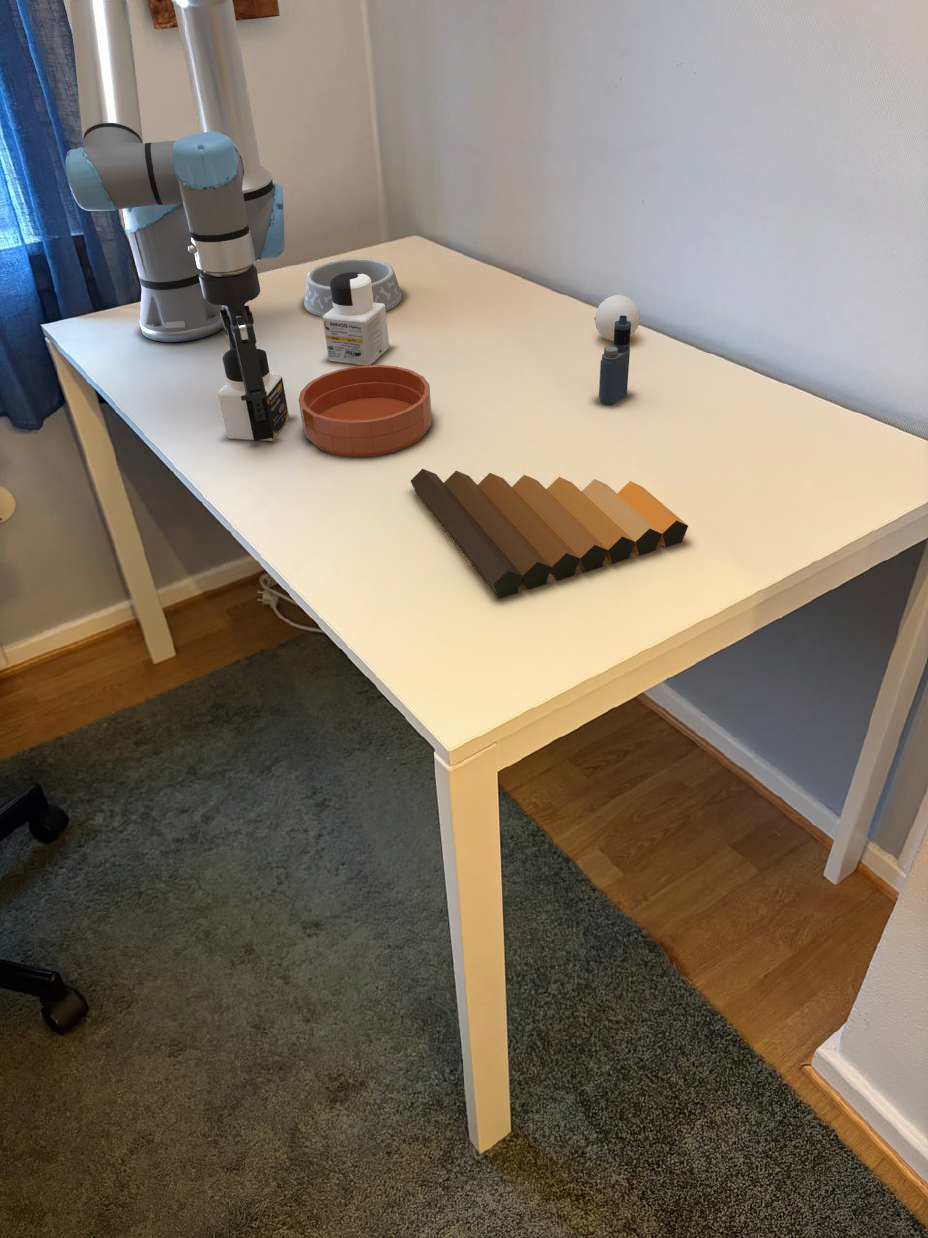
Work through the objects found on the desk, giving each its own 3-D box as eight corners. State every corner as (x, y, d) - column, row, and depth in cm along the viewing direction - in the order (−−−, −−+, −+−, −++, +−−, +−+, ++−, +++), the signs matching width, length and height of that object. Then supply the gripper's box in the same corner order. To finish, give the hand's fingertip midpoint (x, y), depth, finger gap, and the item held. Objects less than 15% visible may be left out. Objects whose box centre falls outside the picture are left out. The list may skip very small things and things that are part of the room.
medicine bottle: (273, 442, 136) (258, 362, 128) (226, 439, 137) (208, 360, 130) (290, 419, 141) (276, 341, 134) (245, 416, 143) (229, 339, 135)
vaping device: (630, 394, 142) (636, 316, 135) (609, 407, 139) (613, 327, 132) (616, 390, 144) (621, 312, 136) (595, 402, 141) (598, 323, 133)
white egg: (647, 343, 157) (650, 299, 152) (606, 351, 155) (609, 307, 150) (618, 322, 164) (620, 280, 160) (579, 330, 162) (580, 287, 158)
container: (327, 361, 157) (316, 282, 149) (349, 343, 163) (339, 266, 155) (369, 366, 155) (360, 286, 147) (390, 348, 160) (382, 270, 152)
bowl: (294, 412, 143) (288, 378, 139) (411, 390, 147) (408, 356, 144) (319, 469, 129) (313, 432, 126) (448, 442, 133) (446, 406, 130)
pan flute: (411, 494, 123) (493, 600, 104) (409, 471, 121) (492, 575, 102) (582, 449, 130) (686, 540, 112) (582, 427, 128) (689, 516, 109)
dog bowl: (399, 315, 172) (396, 286, 168) (298, 320, 172) (293, 290, 169) (405, 282, 185) (402, 254, 182) (311, 286, 186) (307, 258, 182)
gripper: (189, 247, 132) (222, 396, 146) (208, 299, 115) (243, 462, 129) (243, 239, 134) (270, 388, 148) (269, 289, 117) (297, 451, 131)
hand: (257, 422), depth 139 cm, fingers closed on medicine bottle, 9 cm apart
